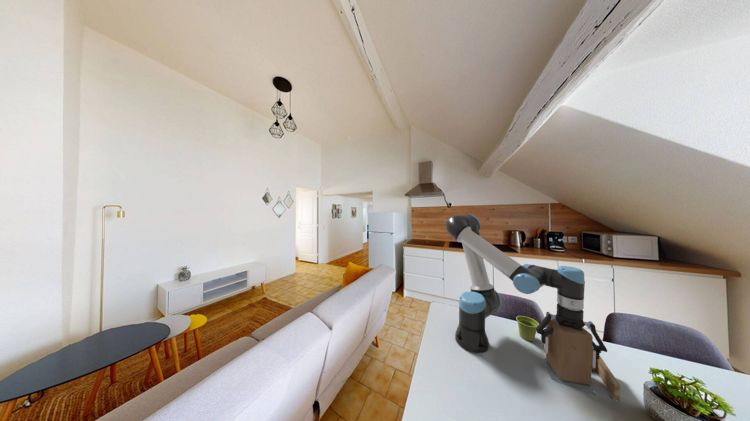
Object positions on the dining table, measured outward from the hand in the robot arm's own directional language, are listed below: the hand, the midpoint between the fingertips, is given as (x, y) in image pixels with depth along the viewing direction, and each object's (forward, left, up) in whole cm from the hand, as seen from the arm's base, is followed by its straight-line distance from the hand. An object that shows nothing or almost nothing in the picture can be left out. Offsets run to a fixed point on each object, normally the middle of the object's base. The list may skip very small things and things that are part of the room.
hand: (568, 357), depth 78 cm
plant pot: (-11, +19, -7) cm, 23 cm away
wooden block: (0, 0, -7) cm, 7 cm away
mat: (0, 0, -7) cm, 7 cm away
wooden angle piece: (+4, +3, -7) cm, 8 cm away
